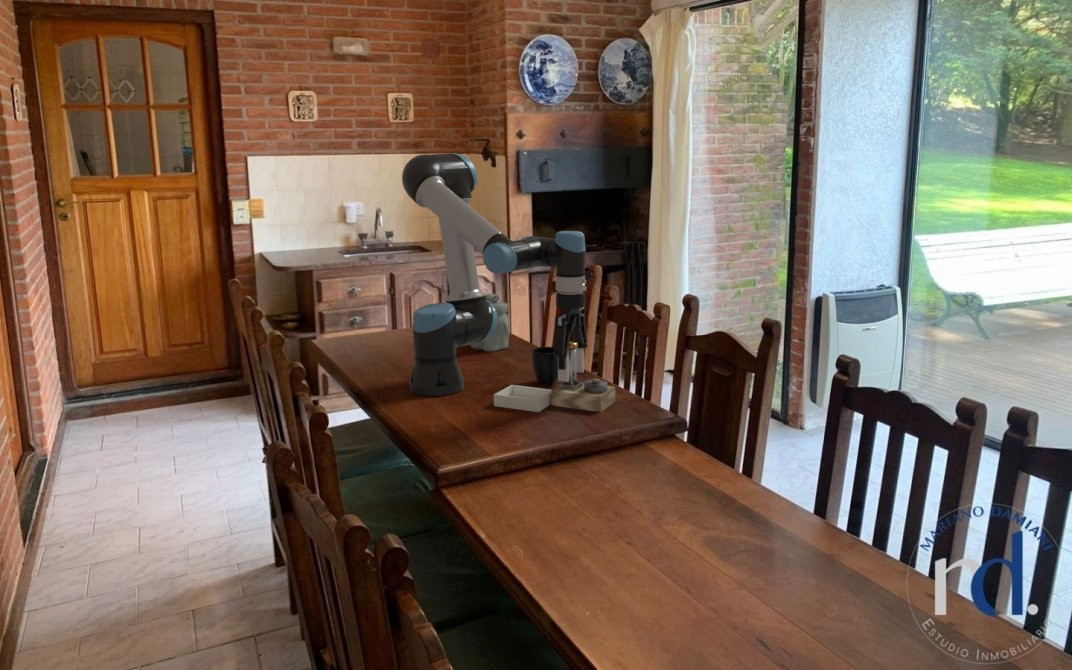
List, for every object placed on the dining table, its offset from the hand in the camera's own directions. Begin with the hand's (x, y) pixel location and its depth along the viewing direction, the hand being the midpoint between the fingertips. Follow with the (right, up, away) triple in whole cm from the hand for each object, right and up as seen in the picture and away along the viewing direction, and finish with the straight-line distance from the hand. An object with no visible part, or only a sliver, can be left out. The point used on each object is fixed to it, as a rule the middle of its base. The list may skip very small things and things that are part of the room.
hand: (571, 376), depth 226 cm
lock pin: (0, -3, +1) cm, 3 cm away
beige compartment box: (+3, -7, 0) cm, 8 cm away
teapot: (-26, +7, +63) cm, 69 cm away
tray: (-12, -7, 0) cm, 14 cm away
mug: (-5, -3, +18) cm, 19 cm away
